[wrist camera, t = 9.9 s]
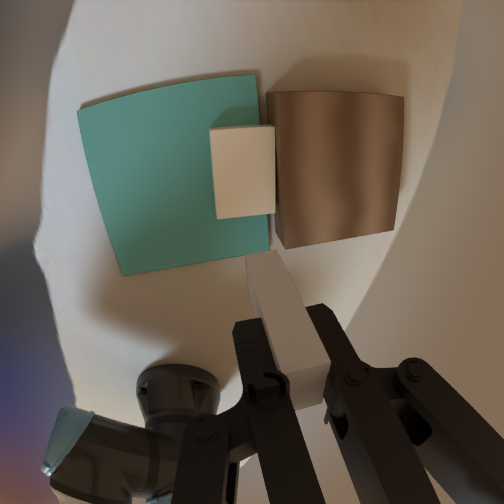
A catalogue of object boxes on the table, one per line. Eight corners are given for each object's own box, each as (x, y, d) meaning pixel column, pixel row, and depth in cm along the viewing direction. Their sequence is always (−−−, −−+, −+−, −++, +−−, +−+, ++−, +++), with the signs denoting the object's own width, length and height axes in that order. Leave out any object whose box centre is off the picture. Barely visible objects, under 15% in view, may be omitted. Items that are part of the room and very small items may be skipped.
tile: (215, 211, 31) (217, 219, 29) (208, 128, 26) (210, 130, 24) (270, 205, 32) (275, 213, 30) (269, 124, 27) (274, 126, 25)
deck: (275, 232, 34) (285, 249, 31) (265, 92, 26) (276, 92, 22) (377, 216, 36) (393, 230, 32) (382, 94, 27) (403, 97, 24)
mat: (124, 273, 33) (123, 276, 33) (78, 110, 23) (76, 110, 22) (268, 248, 35) (269, 250, 35) (254, 74, 24) (255, 74, 24)
